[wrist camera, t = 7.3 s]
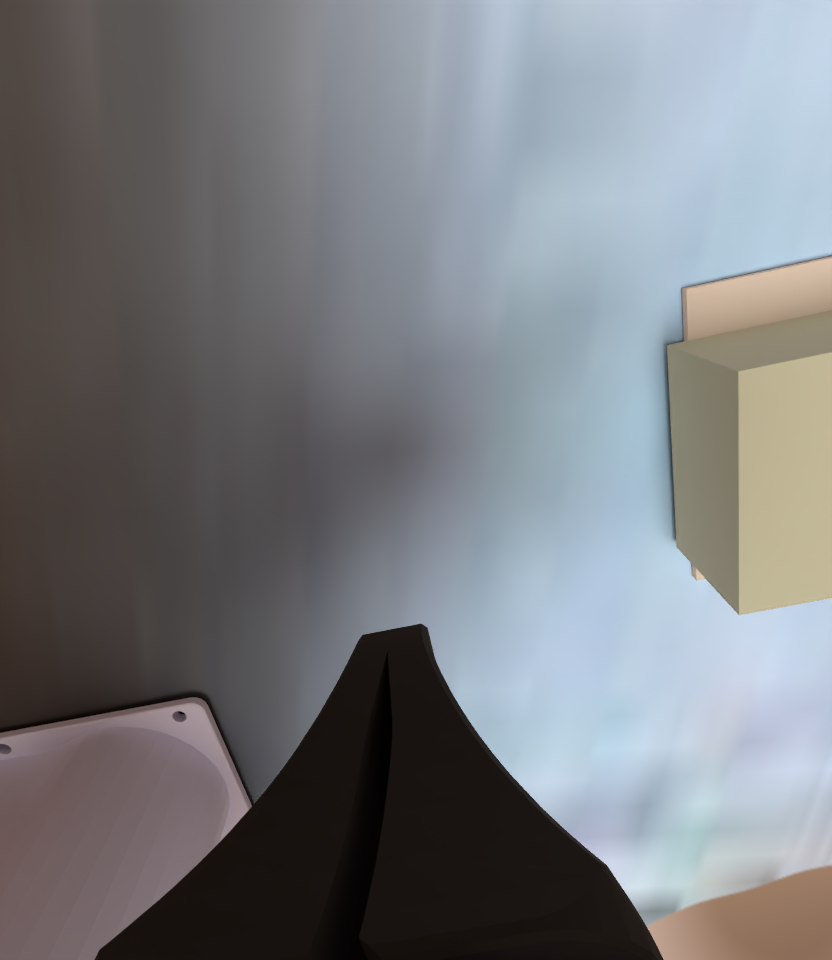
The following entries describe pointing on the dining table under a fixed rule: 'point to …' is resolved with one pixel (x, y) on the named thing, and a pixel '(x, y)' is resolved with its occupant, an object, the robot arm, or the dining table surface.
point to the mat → (756, 302)
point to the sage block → (755, 460)
